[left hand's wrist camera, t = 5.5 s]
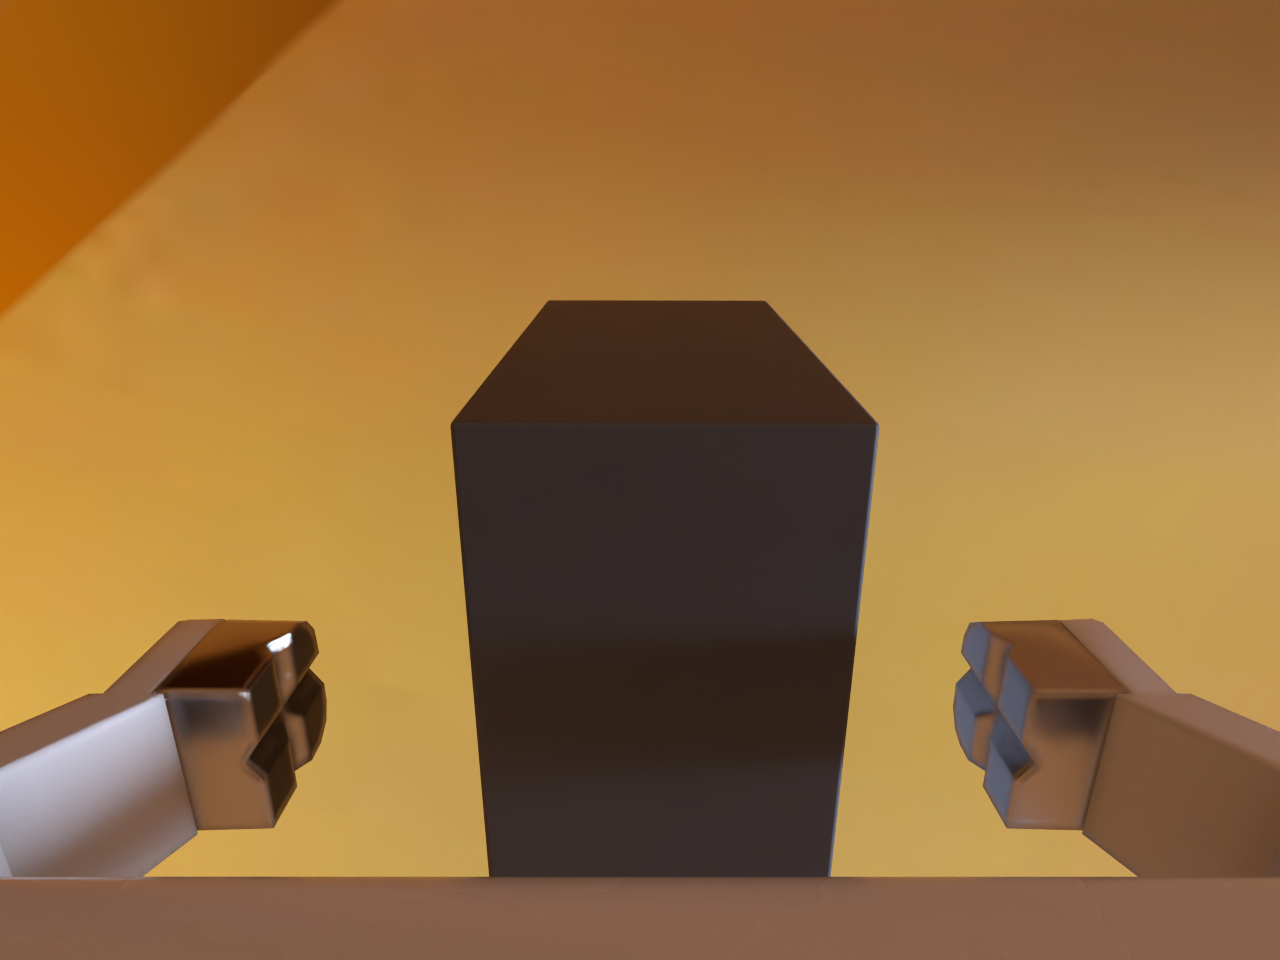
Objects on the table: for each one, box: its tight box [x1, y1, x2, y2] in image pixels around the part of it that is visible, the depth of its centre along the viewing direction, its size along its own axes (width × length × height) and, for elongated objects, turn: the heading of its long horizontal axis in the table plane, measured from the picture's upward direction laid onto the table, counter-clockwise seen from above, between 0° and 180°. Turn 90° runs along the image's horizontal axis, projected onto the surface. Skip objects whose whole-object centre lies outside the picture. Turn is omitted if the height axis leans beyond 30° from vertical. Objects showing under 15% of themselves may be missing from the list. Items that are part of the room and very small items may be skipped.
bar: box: [451, 300, 879, 877], centre depth 17 cm, size 27×5×9 cm, turn 0°
